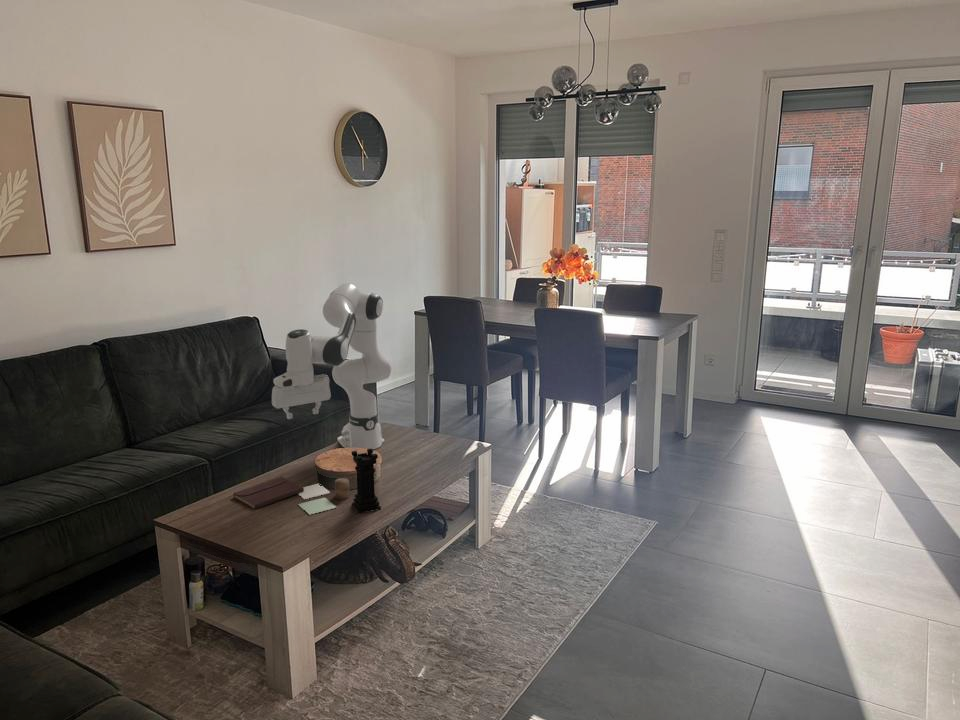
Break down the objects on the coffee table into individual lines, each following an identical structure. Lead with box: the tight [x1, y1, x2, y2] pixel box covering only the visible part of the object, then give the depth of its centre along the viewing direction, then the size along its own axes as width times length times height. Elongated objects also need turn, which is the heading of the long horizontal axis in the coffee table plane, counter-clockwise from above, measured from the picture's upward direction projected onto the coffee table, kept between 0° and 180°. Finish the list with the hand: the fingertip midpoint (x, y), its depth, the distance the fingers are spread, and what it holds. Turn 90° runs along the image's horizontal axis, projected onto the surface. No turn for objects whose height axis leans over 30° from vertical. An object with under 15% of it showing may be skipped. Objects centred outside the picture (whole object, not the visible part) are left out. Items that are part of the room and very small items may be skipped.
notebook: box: [233, 475, 304, 510], centre depth 257 cm, size 15×20×2 cm
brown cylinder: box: [334, 477, 350, 500], centre depth 256 cm, size 5×5×6 cm
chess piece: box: [351, 448, 382, 514], centre depth 245 cm, size 8×8×20 cm
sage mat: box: [297, 497, 337, 516], centre depth 248 cm, size 10×10×1 cm
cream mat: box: [297, 483, 331, 501], centre depth 260 cm, size 10×10×1 cm
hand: (302, 416), depth 245 cm, fingers open, 8 cm apart
